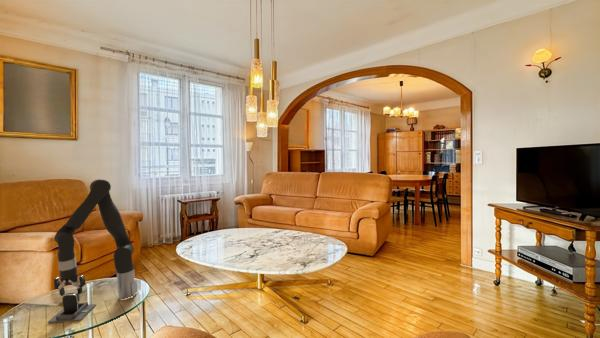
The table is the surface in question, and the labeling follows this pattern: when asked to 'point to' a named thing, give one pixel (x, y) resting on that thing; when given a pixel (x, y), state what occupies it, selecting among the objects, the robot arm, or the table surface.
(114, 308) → the table surface
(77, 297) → the battery
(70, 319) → the dock
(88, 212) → the robot arm
